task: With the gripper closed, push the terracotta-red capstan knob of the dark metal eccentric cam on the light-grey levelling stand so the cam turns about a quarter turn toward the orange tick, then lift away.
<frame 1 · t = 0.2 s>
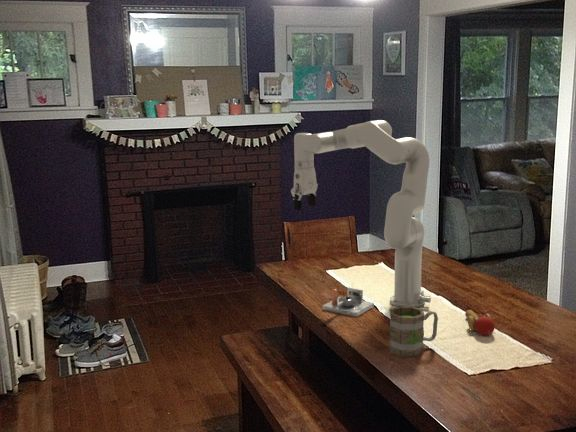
hand: (305, 207, 259), 31 cm above the table, fingers open, 9 cm apart
stand: (348, 308, 235), on the table
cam: (342, 296, 231), point 6 cm above the table, hinge at 0.0°
kendama: (477, 328, 214), on the table
mug: (413, 349, 199), on the table
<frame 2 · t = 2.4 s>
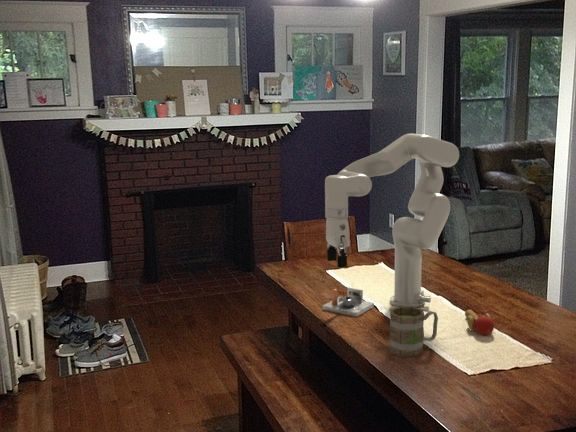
hand: (337, 263, 220), 20 cm above the table, fingers open, 8 cm apart
nothing on the table moved.
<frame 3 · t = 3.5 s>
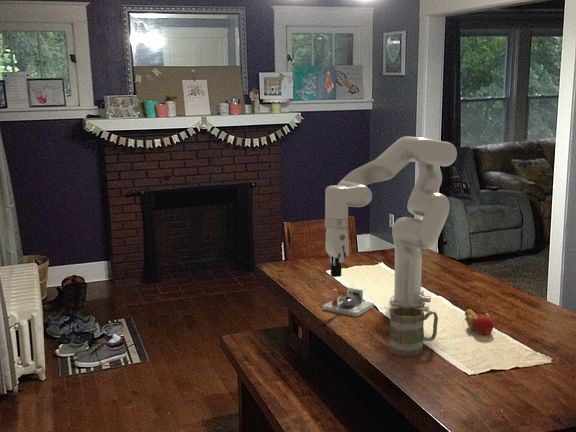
hand: (335, 276, 220), 16 cm above the table, fingers closed
nothing on the table moved.
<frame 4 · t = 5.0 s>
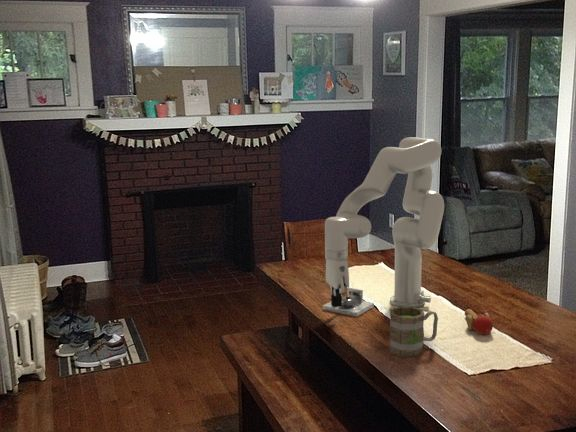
hand: (336, 305, 223), 5 cm above the table, fingers closed
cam: (342, 296, 231), point 6 cm above the table, hinge at -1.5°, touching gripper
everything else where it was.
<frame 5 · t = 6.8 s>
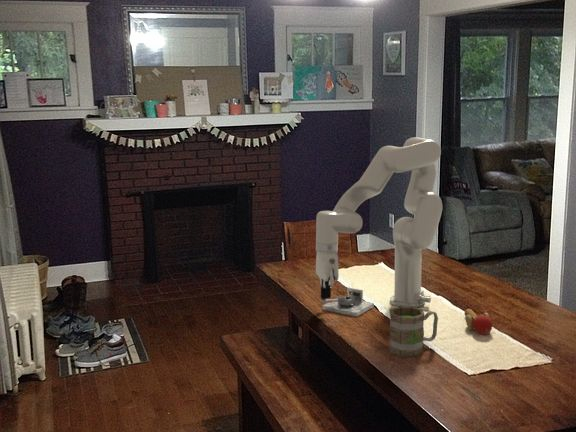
hand: (325, 297, 229), 6 cm above the table, fingers closed
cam: (337, 293, 233), point 6 cm above the table, hinge at -45.1°, touching gripper
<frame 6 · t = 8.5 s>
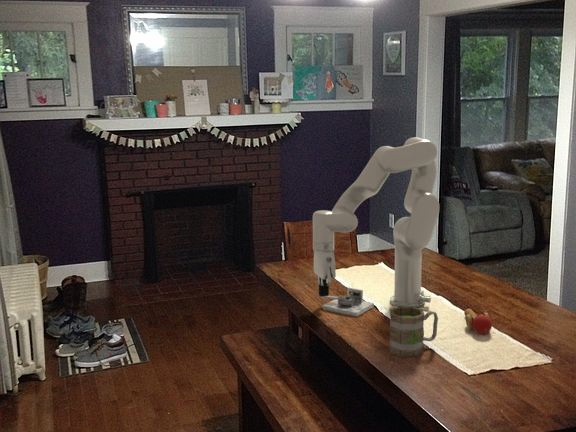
hand: (323, 295, 233), 5 cm above the table, fingers closed
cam: (337, 292, 235), point 6 cm above the table, hinge at -76.1°, touching gripper
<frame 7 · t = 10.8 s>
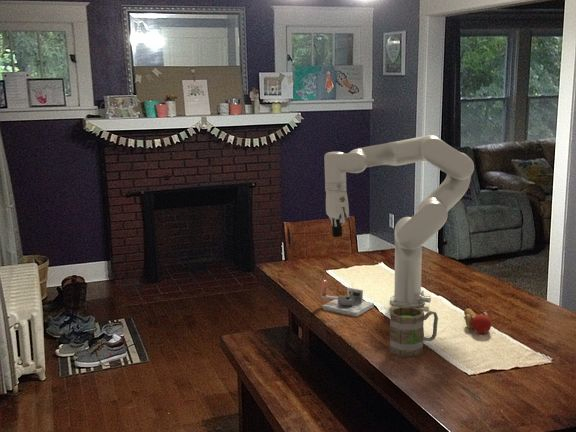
hand: (337, 236, 237), 25 cm above the table, fingers closed
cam: (337, 292, 235), point 6 cm above the table, hinge at -76.4°
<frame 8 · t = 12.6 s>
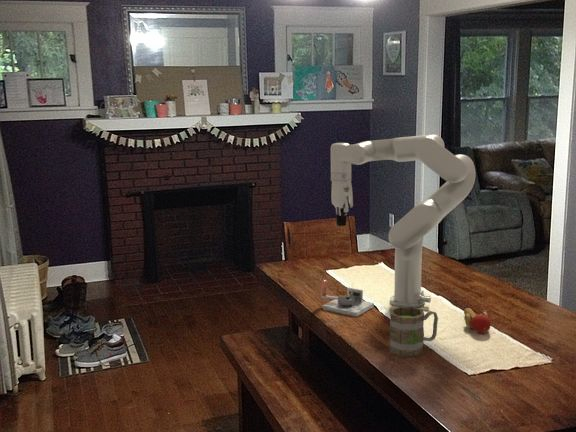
hand: (341, 225, 244), 27 cm above the table, fingers closed
at the end: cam at -76° (first picture: +0°) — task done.
